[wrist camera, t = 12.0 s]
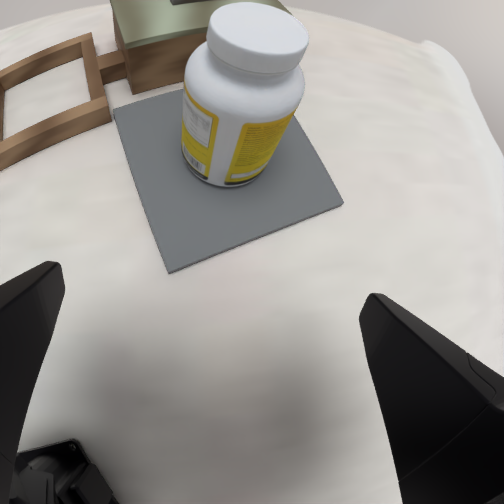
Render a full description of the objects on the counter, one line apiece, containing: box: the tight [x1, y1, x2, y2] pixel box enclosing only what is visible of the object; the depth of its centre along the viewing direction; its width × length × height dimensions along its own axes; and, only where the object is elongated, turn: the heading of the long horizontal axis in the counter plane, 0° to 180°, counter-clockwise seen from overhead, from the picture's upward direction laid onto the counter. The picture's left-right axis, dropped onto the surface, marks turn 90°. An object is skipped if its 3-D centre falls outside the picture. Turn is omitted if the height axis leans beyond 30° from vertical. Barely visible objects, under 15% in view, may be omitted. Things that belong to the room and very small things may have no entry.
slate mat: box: [113, 89, 344, 274], centre depth 23 cm, size 14×14×1 cm
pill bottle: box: [181, 2, 309, 187], centre depth 17 cm, size 6×6×12 cm
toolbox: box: [0, 0, 293, 171], centre depth 20 cm, size 28×11×7 cm, turn 115°
